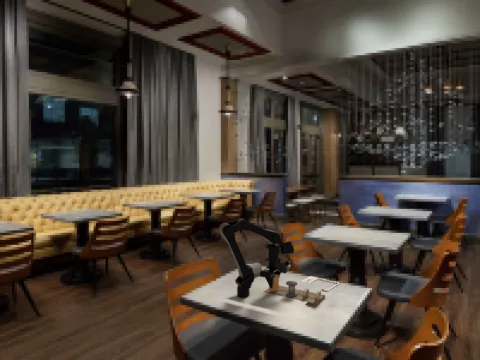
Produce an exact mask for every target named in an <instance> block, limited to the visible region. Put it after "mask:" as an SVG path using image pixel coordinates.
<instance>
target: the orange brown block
mask: <svg viewBox="0 0 480 360" xmlns="http://www.w3.org/2000/svg"><path fill="white" fill-rule="evenodd" d="M274 275H275V277H274V279H273V288H270V286H269V285H268V288H269V290H270V291H276V290H277V289H279V286H280V284H279V283H280V282H279V281H280V277H279V275H277V274H274Z"/></svg>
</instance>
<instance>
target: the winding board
mask: <svg viewBox="0 0 480 360" xmlns="http://www.w3.org/2000/svg"><path fill="white" fill-rule="evenodd" d="M285 285H286V286H282V285H279V289H277V290H276V291H270V290H269V287H268V288H267V289H266V290H264V291H263V293H266V294H271V295H274V296H280V297H284V298H288V299H293V300H296V301H297V300H298V301H301V302H306V303H305V305H306V306H310V307H315V308H317V306H319V304H320V303H321V302H323V300H325V299H326V295H325V294H322V290H317V291H316V292H312V291H310V289H309V288H304V289H303V290H301V289H297V288H296V286H298V282H297V281H295V280H287V281H286V282H285Z"/></svg>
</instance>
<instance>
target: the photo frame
mask: <svg viewBox="0 0 480 360" xmlns="http://www.w3.org/2000/svg"><path fill="white" fill-rule="evenodd" d="M318 280H319V281H324V282H328V283H333V284H334V285H332V286H331V287H329V288H328V289H323V288H322V289H321V292H322V291H323V292H329V291H331V290H332V289H334V288H336V287H337V286H339V285H340V284H341V283H340V282H337V281H333V280H328V279H324V278H319V277H315V276H308V277H306V278H304V279H302V280H300V282H302V283H306V284H307V283H308V284H312V283H314V282H316V281H318ZM336 283H337V284H336Z"/></svg>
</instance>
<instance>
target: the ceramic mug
mask: <svg viewBox="0 0 480 360" xmlns="http://www.w3.org/2000/svg"><path fill="white" fill-rule="evenodd" d="M248 265H249V266H250V267H251V268H252V270H253V273H254V274H255V275H254V277H255V278H256V279H257V276H260V272H261V271H262V270H263V267H262V265H261V264H260V263H259V262H255V263H251V264H248Z"/></svg>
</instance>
